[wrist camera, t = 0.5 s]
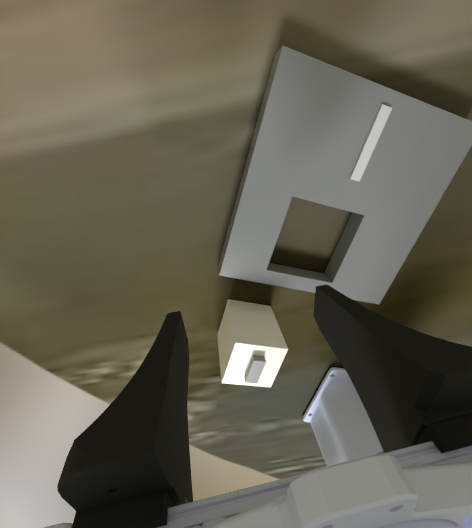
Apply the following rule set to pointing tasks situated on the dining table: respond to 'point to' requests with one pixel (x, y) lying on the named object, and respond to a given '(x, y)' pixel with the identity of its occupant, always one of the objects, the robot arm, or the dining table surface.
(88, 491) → the robot arm
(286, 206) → the socket plate
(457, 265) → the dining table surface
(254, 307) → the block
